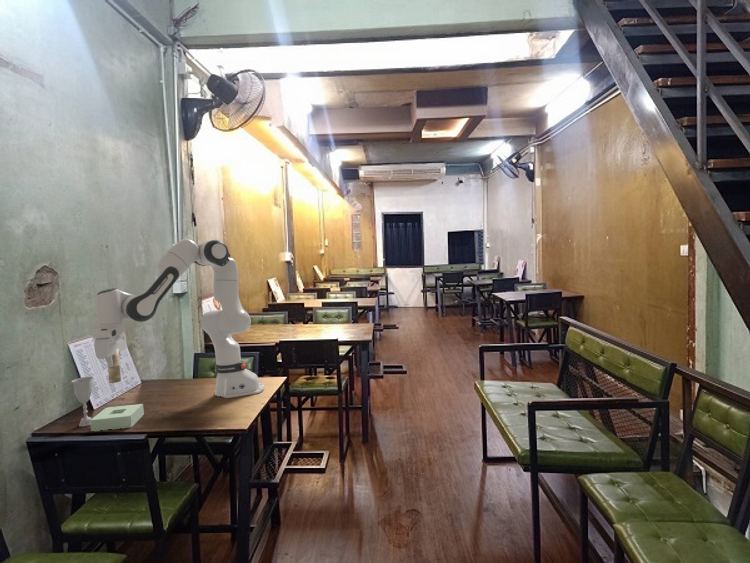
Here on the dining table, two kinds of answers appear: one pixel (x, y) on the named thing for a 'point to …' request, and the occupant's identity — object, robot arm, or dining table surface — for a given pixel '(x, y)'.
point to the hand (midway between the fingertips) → (113, 365)
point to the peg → (115, 369)
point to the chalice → (83, 396)
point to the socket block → (117, 417)
